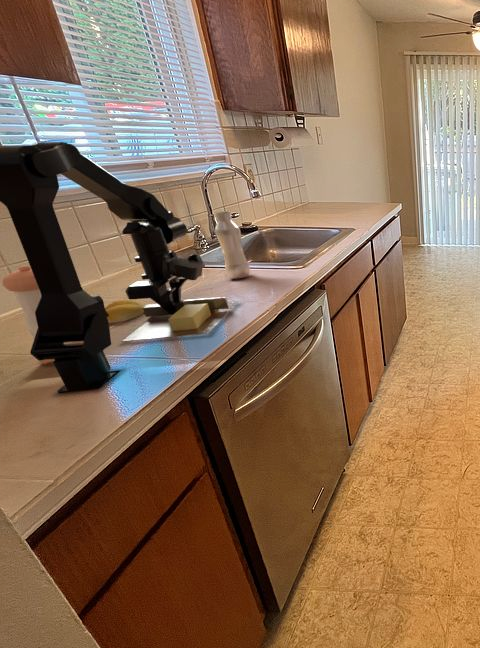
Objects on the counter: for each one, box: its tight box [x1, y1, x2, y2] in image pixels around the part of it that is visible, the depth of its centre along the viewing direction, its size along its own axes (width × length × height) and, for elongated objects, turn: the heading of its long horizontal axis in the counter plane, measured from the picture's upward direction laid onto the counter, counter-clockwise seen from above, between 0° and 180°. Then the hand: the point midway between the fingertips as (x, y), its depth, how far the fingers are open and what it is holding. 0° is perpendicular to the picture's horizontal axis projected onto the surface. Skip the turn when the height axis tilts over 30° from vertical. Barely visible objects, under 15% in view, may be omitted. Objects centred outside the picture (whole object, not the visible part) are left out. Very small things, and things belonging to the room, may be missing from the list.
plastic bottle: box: [214, 211, 251, 279], centre depth 121 cm, size 6×7×20 cm
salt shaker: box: [2, 264, 84, 365], centre depth 77 cm, size 7×7×19 cm
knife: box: [143, 296, 229, 318], centre depth 97 cm, size 18×2×3 cm, turn 101°
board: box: [122, 301, 237, 342], centre depth 95 cm, size 18×17×1 cm
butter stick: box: [168, 303, 211, 331], centre depth 93 cm, size 8×5×3 cm, turn 11°
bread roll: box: [104, 299, 145, 324], centre depth 97 cm, size 8×9×4 cm
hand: (175, 312), depth 97 cm, fingers closed on knife, 2 cm apart
